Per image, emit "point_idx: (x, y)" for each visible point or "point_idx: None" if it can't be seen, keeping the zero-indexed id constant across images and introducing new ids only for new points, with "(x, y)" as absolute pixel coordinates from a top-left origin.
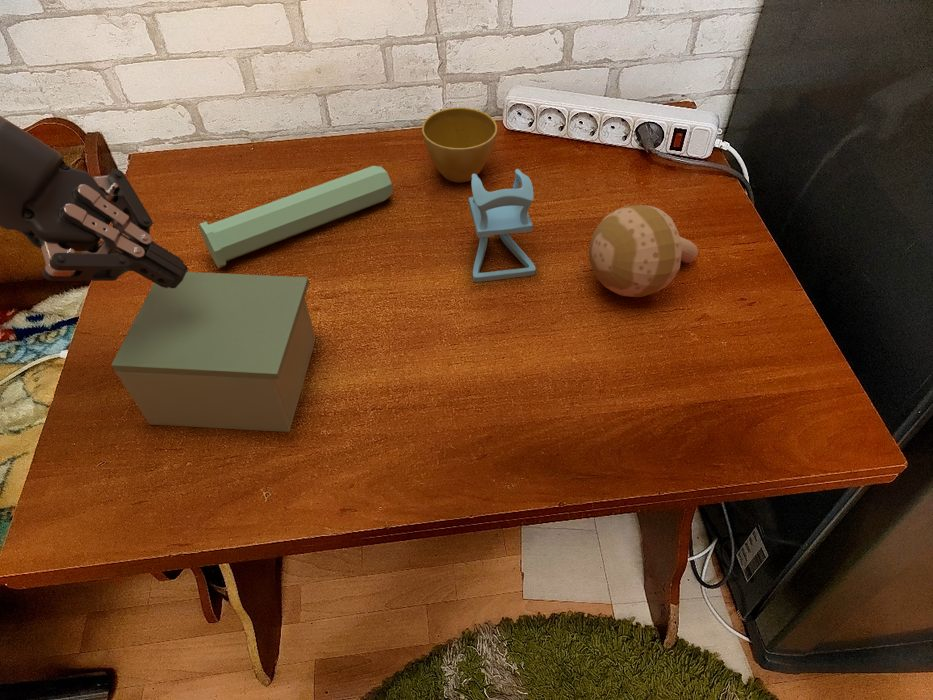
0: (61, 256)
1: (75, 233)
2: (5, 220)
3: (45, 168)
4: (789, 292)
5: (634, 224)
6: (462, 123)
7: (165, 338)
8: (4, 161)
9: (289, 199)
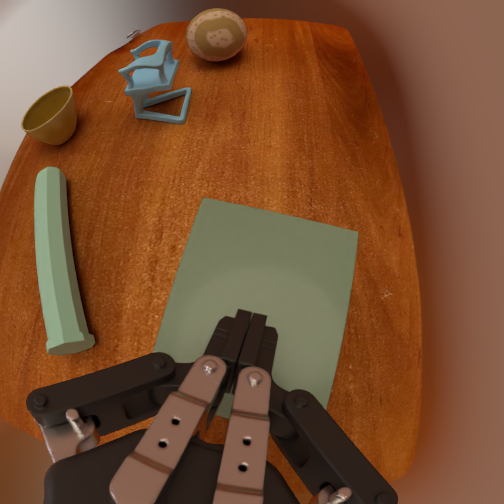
0: (379, 501)
1: (285, 501)
2: None
3: None
4: (246, 19)
5: (219, 14)
6: (36, 116)
7: (283, 375)
8: None
9: (42, 250)
